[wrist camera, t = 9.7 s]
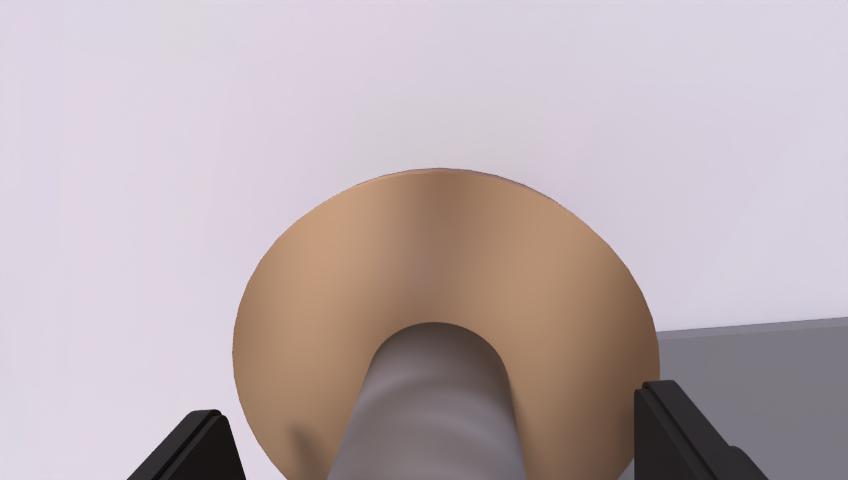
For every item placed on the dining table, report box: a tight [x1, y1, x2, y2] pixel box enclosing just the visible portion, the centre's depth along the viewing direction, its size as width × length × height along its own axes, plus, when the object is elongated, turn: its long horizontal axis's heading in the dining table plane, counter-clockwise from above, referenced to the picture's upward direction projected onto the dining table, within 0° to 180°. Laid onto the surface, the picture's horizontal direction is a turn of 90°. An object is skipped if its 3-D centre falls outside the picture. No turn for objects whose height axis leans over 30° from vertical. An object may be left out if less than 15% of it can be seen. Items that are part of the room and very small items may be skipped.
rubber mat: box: [617, 317, 848, 480], centre depth 23 cm, size 15×14×1 cm
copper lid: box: [232, 168, 660, 480], centre depth 10 cm, size 12×12×6 cm
